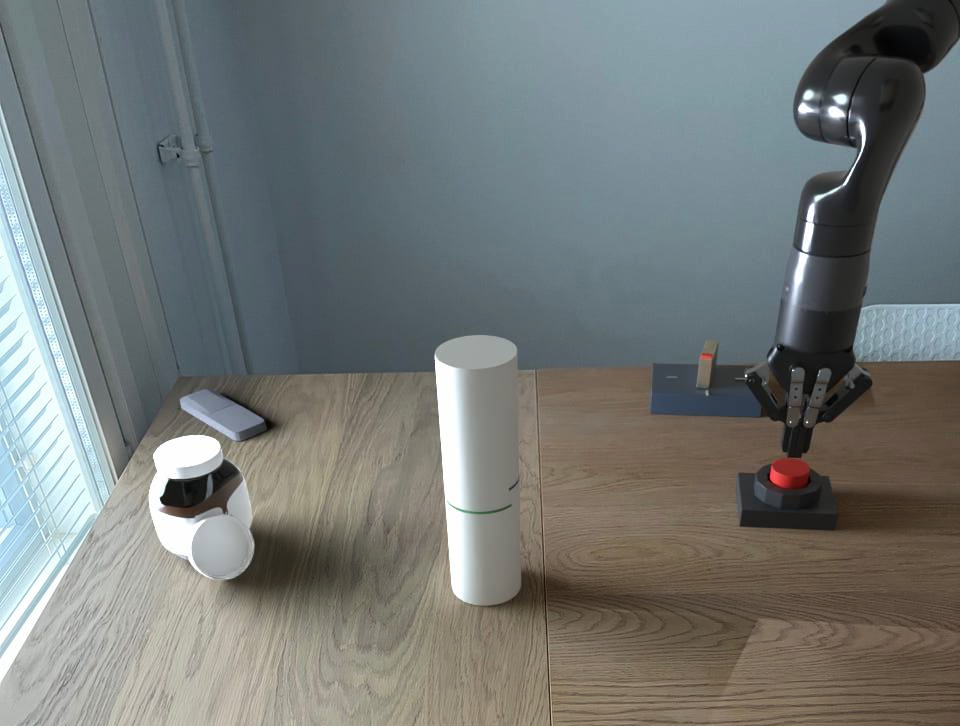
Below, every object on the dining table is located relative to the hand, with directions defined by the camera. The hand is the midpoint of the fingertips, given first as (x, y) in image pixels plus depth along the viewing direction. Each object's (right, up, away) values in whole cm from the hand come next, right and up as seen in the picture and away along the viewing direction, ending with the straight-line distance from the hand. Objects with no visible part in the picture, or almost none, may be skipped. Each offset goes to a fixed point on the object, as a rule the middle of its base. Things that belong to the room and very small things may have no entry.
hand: (792, 454), depth 105 cm
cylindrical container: (-33, -14, -4) cm, 36 cm away
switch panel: (-4, +12, +26) cm, 29 cm away
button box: (0, -5, +4) cm, 7 cm away
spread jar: (-62, -10, +2) cm, 63 cm away
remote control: (-68, +10, +27) cm, 74 cm away
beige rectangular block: (-4, +14, +24) cm, 28 cm away
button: (0, -3, +2) cm, 3 cm away
